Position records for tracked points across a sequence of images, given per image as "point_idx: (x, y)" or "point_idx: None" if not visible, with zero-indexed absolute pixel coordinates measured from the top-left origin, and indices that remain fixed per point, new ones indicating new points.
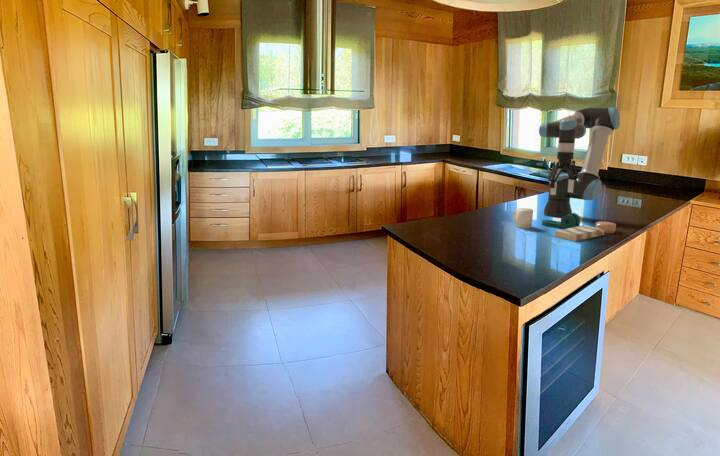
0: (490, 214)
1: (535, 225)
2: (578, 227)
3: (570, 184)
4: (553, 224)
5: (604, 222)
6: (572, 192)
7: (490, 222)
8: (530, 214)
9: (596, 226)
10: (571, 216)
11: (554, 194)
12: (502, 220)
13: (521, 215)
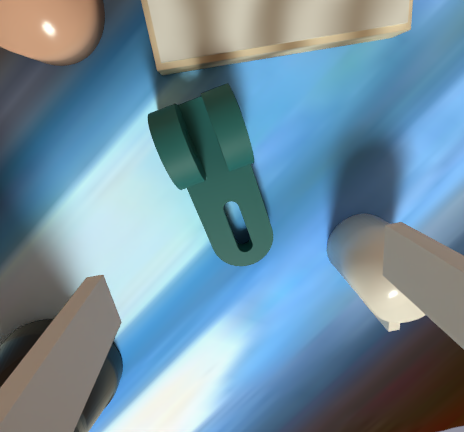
0: (307, 422)
1: (297, 245)
2: (238, 28)
3: (68, 382)
4: (259, 191)
5: (7, 15)
6: (95, 277)
7: (404, 335)
8: None
9: (91, 23)
10: (234, 102)
11: (405, 226)
12: (343, 346)
13: None
